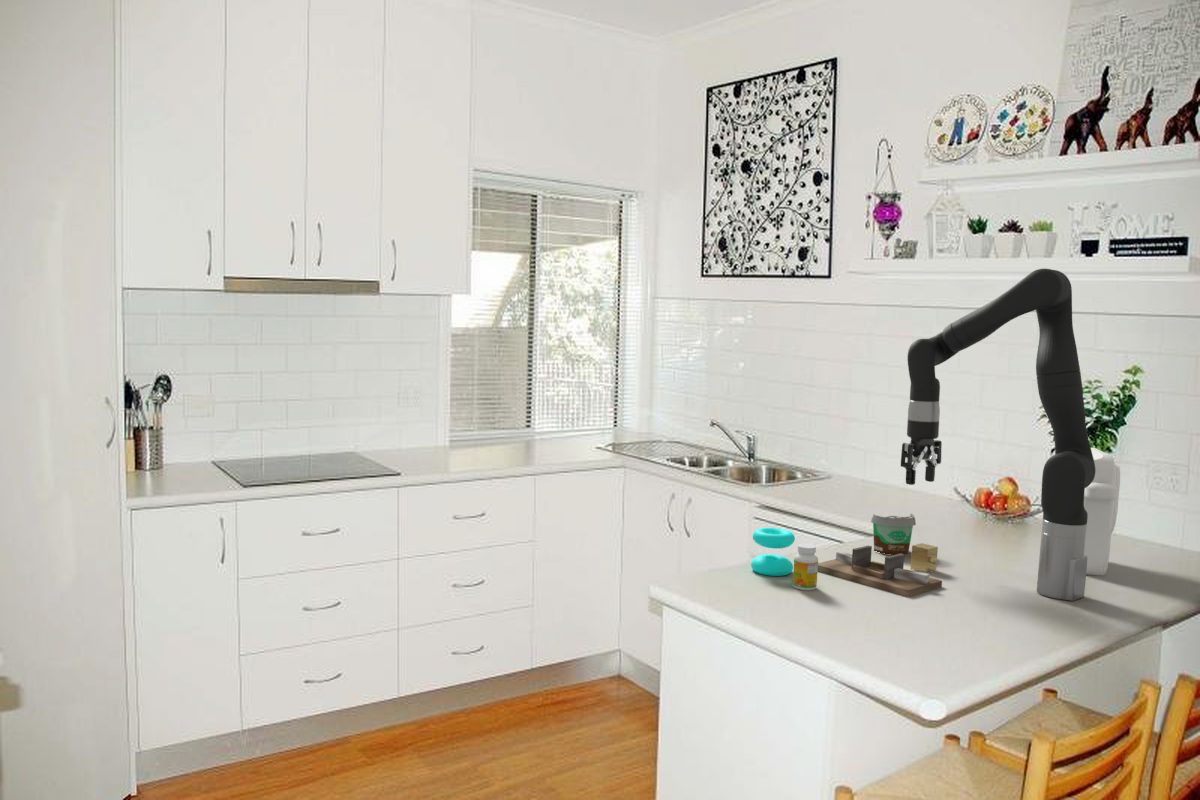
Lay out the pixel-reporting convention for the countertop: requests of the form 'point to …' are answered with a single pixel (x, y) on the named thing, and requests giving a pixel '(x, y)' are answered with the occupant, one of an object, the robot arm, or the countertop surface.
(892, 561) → the board
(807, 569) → the supplement bottle
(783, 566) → the donuts
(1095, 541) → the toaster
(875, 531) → the food container
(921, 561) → the tan block
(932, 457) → the robot arm
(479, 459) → the countertop surface
